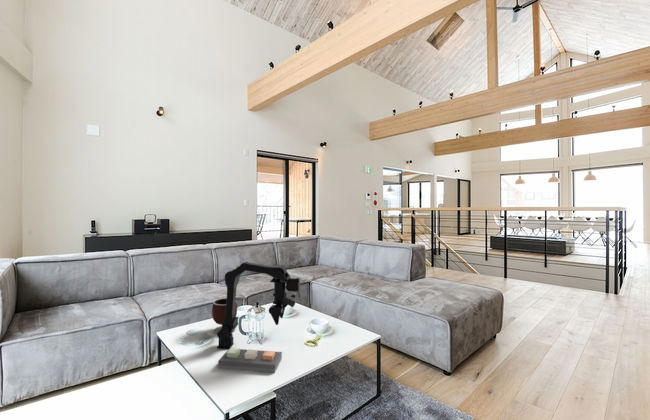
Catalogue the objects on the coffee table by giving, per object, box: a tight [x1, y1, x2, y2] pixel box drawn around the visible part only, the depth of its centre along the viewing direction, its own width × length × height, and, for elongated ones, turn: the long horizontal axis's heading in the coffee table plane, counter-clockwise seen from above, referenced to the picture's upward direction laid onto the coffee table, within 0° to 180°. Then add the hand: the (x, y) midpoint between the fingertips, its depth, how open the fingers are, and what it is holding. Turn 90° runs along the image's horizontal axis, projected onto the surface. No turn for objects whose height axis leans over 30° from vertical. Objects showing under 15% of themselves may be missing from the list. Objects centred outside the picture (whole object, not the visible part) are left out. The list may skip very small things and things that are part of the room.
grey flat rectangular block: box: [217, 348, 283, 374], centre depth 143 cm, size 26×12×4 cm, turn 84°
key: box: [304, 334, 322, 348], centre depth 168 cm, size 7×12×2 cm, turn 169°
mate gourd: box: [211, 297, 238, 335], centre depth 181 cm, size 16×14×20 cm
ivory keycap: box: [244, 348, 259, 359], centre depth 143 cm, size 5×5×2 cm
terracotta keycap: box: [263, 350, 276, 361], centre depth 142 cm, size 5×5×2 cm
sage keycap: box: [226, 347, 241, 358], centre depth 144 cm, size 5×5×2 cm
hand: (279, 321), depth 157 cm, fingers open, 9 cm apart
